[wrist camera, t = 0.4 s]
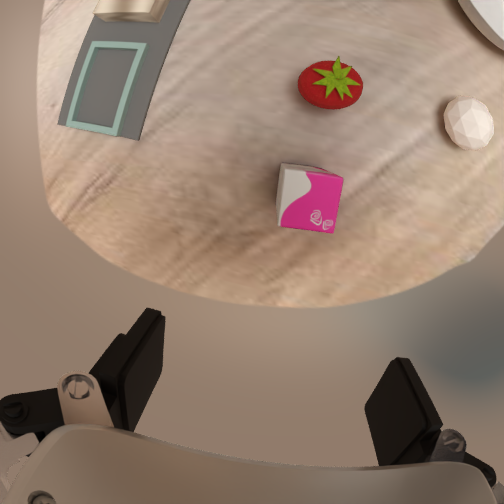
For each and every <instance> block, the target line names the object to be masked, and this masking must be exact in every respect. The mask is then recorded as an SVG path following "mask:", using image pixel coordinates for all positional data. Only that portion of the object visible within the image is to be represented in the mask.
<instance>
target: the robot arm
mask: <svg viewBox="0 0 504 504" xmlns="http://www.w3.org/2000/svg"><path fill="white" fill-rule="evenodd" d="M164 331H165V316H162V315H161V311H158V310H154V309H151V308H146V309H145V311H144V312H143V313H142V314H141V316H140V317H139V318H138V320H137V321H136V322H135V324H134V325H133V326H132V327H131V329H130V330H129V331H128V333H127V334H126V335H125V334H122V333H121V334H119V335H118V336H117V337H116V338H115V339H114V341H113V342H112V343H111V344H110V346H109V347H108V348H107V349H106V351H105V352H104V354H103V355H102V356H101V357H100V359H99V360H98V361H97V363H96V364H95V365H94V367H93V368H92V369H91V370H90V372H89V373H86V372H82V371H72V372H68V373H66V374H65V375H63V376H62V377H61V378H60V379H59V381H58V383H57V388H53V389H47V390H40V391H34V392H27V393H19V394H12V395H8V396H6V397H4V398H2V399H1V400H0V504H504V486H503V485H502V484H501V483H500V482H498V483H497V484H496V474H495V471H494V469H493V468H492V467H490V466H489V465H487V464H486V463H484V462H482V461H481V460H479V459H477V458H475V457H474V456H472V455H470V454H468V453H467V452H465V451H466V441H465V439H464V437H463V436H462V435H461V434H460V433H459V432H458V431H456V430H453V429H445V430H443V431H442V432H441V430H440V428H441V427H442V425H443V423H442V421H441V419H440V417H439V415H438V413H437V411H436V409H435V407H434V404H433V403H432V401H431V399H430V397H429V395H428V393H427V391H426V389H425V387H424V385H423V383H422V381H421V379H420V377H419V376H418V374H417V372H416V370H415V368H414V366H413V365H412V363H411V361H410V360H409V359H408V358H400V357H397V358H395V359H394V360H392V361H391V362H390V364H389V365H388V367H387V369H386V371H385V372H384V374H383V376H382V378H381V379H380V381H379V383H378V384H377V386H376V388H375V389H374V391H373V393H372V394H371V396H370V398H369V399H368V401H367V403H366V404H365V414H366V417H367V421H368V424H369V428H370V432H371V436H372V440H373V444H374V447H375V451H376V456H377V460H378V464H379V466H373V467H321V466H304V465H290V464H280V463H272V462H263V461H256V460H250V459H243V458H237V457H231V456H226V455H220V454H216V453H211V452H207V451H202V450H198V449H193V448H189V447H185V446H181V445H177V444H173V443H169V442H166V441H162V440H159V439H156V438H152V437H148V436H145V435H141V434H137V433H134V430H135V427H136V425H137V423H138V421H139V419H140V417H141V415H142V413H143V410H144V408H145V406H146V404H147V402H148V400H149V398H150V396H151V394H152V391H153V389H154V387H155V385H156V383H157V381H158V379H159V377H160V374H161V372H162V366H163V346H164ZM24 456H28V457H29V458H28V459H27V461H26V462H25V464H24V465H23V467H22V468H21V470H20V472H19V473H18V475H17V476H16V478H15V480H14V482H13V483H12V485H10V484H9V481H8V478H7V472H8V470H9V468H10V467H11V466H12V465H13V464H15V463H18V462H19V458H22V457H24ZM53 499H54V500H53Z"/></svg>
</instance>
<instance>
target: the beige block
mask: <svg viewBox="0 0 504 504" xmlns="http://www.w3.org/2000/svg"><path fill="white" fill-rule="evenodd" d="M169 1H170V0H99V1H98V3H97V5H96V7H95V10H94V12H93V14H94V15H96V16H97V17H99V18H101V19H102V20H104V21H105V22H109V21H130V22H155V23H160V20H161V18H162V16H163V14H164V12H165V10H166V7H167V5H168V3H169Z"/></svg>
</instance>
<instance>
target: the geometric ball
mask: <svg viewBox="0 0 504 504" xmlns="http://www.w3.org/2000/svg"><path fill="white" fill-rule="evenodd" d="M443 115H444V122H445V129H446V131H447V133H448V134H449V136H450V138H451V140H452V141H453V142H454V143H456V144H457V145H458V146H460V147H461V148H462V149H464V150H474V151H477V150H479V149H481V148H483V147H485V146H486V145H487V144H488V143H489V141H490V139H491V138H492V136H493V134H494V126H493V118H492V116H491V114H490V113H489V111H488V109H487V107H486V105H485V104H483V103H482V102H480V101H479V100H477V99H475V98H474V97H469V96H458V97H457V98H455V99H453V100H452V101H450V102H449V103H448V105H447V107H446V110H445V112H444V114H443Z"/></svg>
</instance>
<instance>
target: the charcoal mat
mask: <svg viewBox="0 0 504 504" xmlns="http://www.w3.org/2000/svg"><path fill="white" fill-rule="evenodd" d="M189 2H190V0H170V1H169V3H168V5H167V7H166V10H165V12H164V14H163V16H162V18H161V20H160V23H155V22H130V21H109V22H105V21H104V20H102V19H101V18H99V17H97V16H96V15H94V18H93V20H92V22H91V24H90V27H89V29H88V31H87V34H86V36H85V38H84V41H83V43H82V46H81V49H80V51H79V54H78V57H77V59H76V62H75V65H74V68H73V71H72V74H71V77H70V80H69V83H68V87H67V90H66V93H65V97H64V100H63V104H62V108H61V112H60V116H59V120H58V124H59V125H65V126H66V122H67V118H68V114H69V110H70V107H71V103H72V99H73V96H74V92H75V89H76V86H77V83H78V80H79V76H80V73H81V70H82V67H83V65H84V62H85V59H86V56H87V54H88V51H89V48H90V46H91V43H92V41H115V42H135V43H147V44H148V45H149V49H148V52H147V54H146V57H145V59H144V62H143V65H142V68H141V70H140V73H139V76H138V79H137V82H136V85H135V88H134V91H133V94H132V97H131V100H130V104H129V107H128V110H127V114H126V117H125V121H124V124H123V128H122V132H121V137H125V138H130V139H134V140H139V139H140V135H141V132H142V128H143V125H144V121H145V118H146V114H147V111H148V108H149V104H150V101H151V98H152V95H153V92H154V89H155V86H156V83H157V80H158V77H159V75H160V72H161V69H162V66H163V64H164V61H165V58H166V56H167V53H168V50H169V48H170V45H171V43H172V40H173V38H174V36H175V33H176V31H177V28H178V26H179V24H180V22H181V19H182V17H183V15H184V13H185V11H186V8H187V6H188V4H189ZM136 53H137V51H132V50H116V49H99V50H98V52H97V55H96V58H95V60H94V63H93V66H92V69H91V72H90V75H89V78H88V81H87V84H86V87H85V90H84V94H83V97H82V101H81V104H80V108H79V111H78V115H77V119H76V121H79V122H85V123H90V124H96V125H101V126H106V127H113V124H114V120H115V116H116V113H117V109H118V106H119V103H120V99H121V96H122V93H123V90H124V87H125V84H126V81H127V78H128V75H129V72H130V69H131V66H132V64H133V61H134V58H135V56H136Z"/></svg>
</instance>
